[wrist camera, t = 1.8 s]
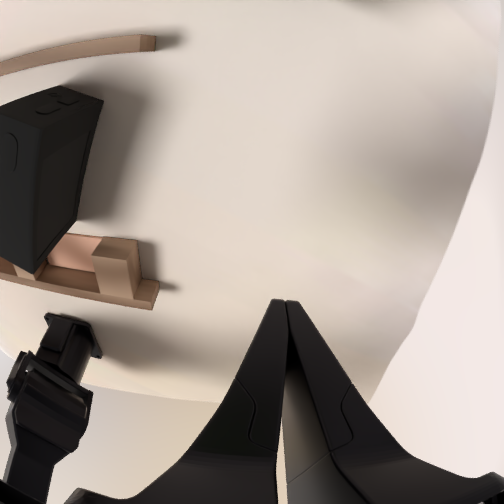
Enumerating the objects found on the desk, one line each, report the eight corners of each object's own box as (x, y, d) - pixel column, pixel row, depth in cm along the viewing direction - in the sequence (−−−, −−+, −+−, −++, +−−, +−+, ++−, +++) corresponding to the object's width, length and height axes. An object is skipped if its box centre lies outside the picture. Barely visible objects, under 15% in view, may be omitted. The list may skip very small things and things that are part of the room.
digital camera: (46, 79, 15) (-24, 104, 9) (104, 98, 16) (41, 128, 11) (27, 197, 21) (-22, 245, 15) (76, 220, 22) (32, 276, 16)
